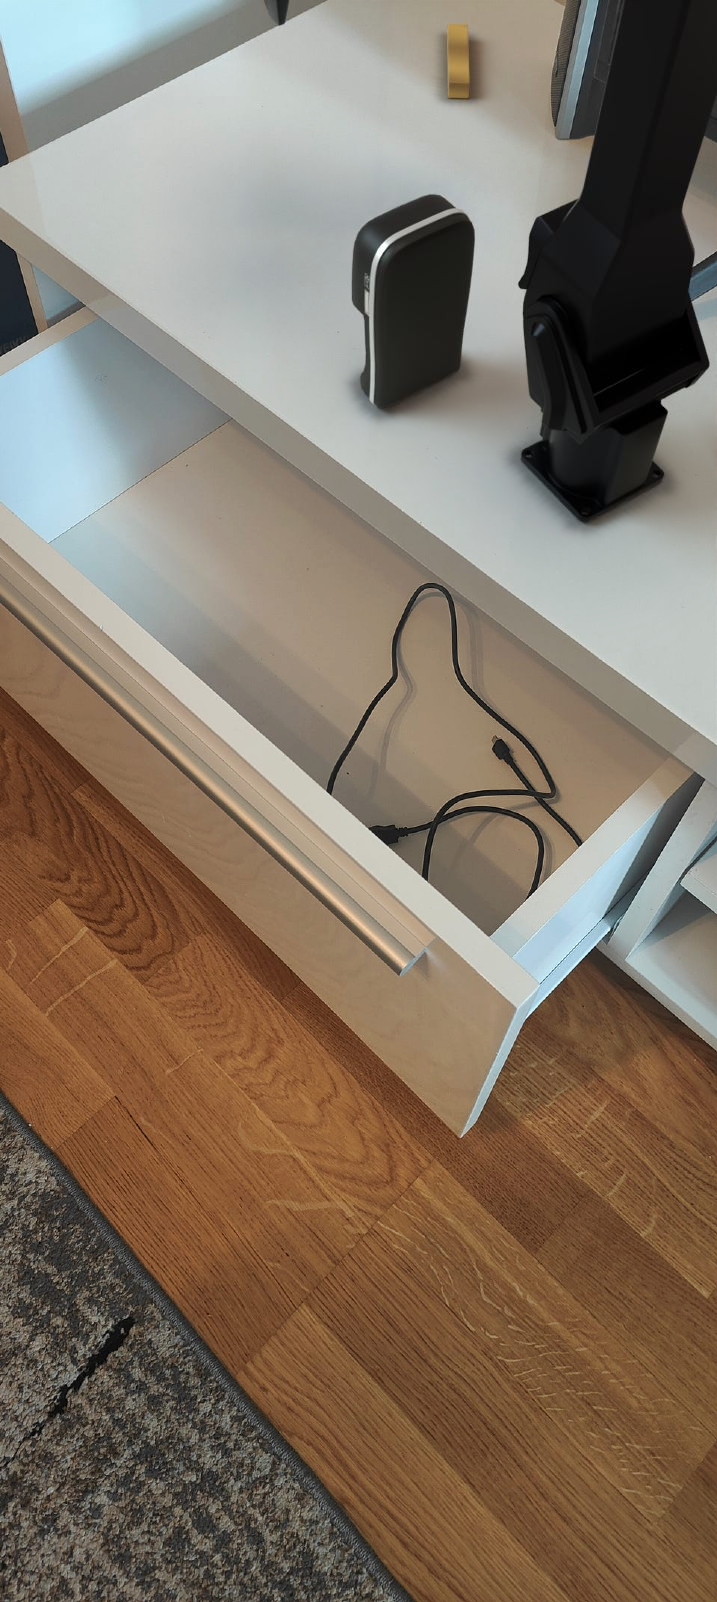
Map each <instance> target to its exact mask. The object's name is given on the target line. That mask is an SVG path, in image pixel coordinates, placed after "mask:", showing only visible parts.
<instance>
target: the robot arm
mask: <svg viewBox="0 0 717 1602" xmlns="http://www.w3.org/2000/svg"><path fill="white" fill-rule="evenodd" d="M263 3H264V5H265V8H266V10H267V13H268V16H269V18H270V19H271V21H272V22H274V23H275V24H276V25H277V26H279V27H281V26H284V25H285V24H286V21H287V15H288V10H289V4H290V0H263ZM612 49H613V51H612V53H611V57H610V58H611V59H610V64H609V67H608V73H607V77H606V81H605V86H604V91H603V95H602V99H601V104H600V109H599V112H598V118H597V122H596V126H595V132H594V135H593V140H592V145H591V149H590V154H589V159H588V163H587V168H586V172H585V176H584V181H583V186H582V189H581V192H580V194H579V196H578V198H576V199H573V200H571V201H569V202H567V203H565V204H562V205H561V206H558V207H556V208H554V209H551V210H550V211H549V210H548V211H547V212H545V213H543V214H540V215H539V216H537V217H536V218H535V219H534V221H533V224H532V226H531V229H530V232H529V235H528V245H527V246H528V248H527V259H526V265H525V267H524V268H525V269H524V271H523V274H522V276H521V277H520V279H519V281H518V282H517V286H518V288H519V289H520V290H525V292H524V296H523V302H522V330H523V331H522V332H523V341H524V342H523V343H524V351H525V352H524V353H525V364H526V375H527V376H526V377H527V386H528V395H529V398H530V399H531V400H532V401H533V402H534V403H535V404H536V405H538V407H539V408H540V412H541V414H542V416H541V421H540V423H541V424H540V425H541V426H540V429H539V436H540V437H541V439H540V440H539V441H537V442H535V443H532V444H531V445H529V446H527V447H525V448H523V449H522V451H521V452H520V457H519V458H520V462H521V463H523V465H524V466H525V467H526V468H527V469H528V470H529V471H530V472H531V474H533V475H534V476H535V478H536V479H538V480H539V481H540V483H542V484H543V485H544V486H545V487H546V488H547V490H548V491H550V493H551V494H553V496H554V497H555V498H556V499H557V500H559V502H560V503H561V504H562V505H564V507H565V508H566V509H567V510H568V511H569V512H570V513H571V514H572V515H573V516H574V517H575V518H576V519H577V520H578V521H579V522H581V523H589V522H591V521H593V520H595V519H597V518H598V517H600V516H602V515H604V514H605V513H607V512H609V511H612V510H613V509H616V508H617V507H619V506H621V505H623V504H625V503H626V502H628V501H630V500H631V499H633V498H636V497H637V496H640V495H641V494H643V493H645V492H646V491H649V490H650V489H652V488H654V487H656V486H657V485H659V484H661V483H662V482H663V480H664V478H665V471H664V470H663V469H662V468H661V466H659V465H658V464H657V463H656V462H655V461H654V458H655V456H656V455H655V454H656V452H657V448H658V445H659V442H660V439H661V436H662V432H663V430H664V426H665V423H666V421H667V417H668V414H669V411H668V409H667V408H666V407H665V406H664V405H663V404H662V400H664V399H667V398H668V397H670V396H672V395H674V394H675V393H678V392H679V391H681V390H684V389H688V388H690V387H691V386H694V385H695V384H696V383H697V382H698V381H699V379H700V378H701V377H703V375H704V374H705V373H706V372H707V371H708V370H709V368H710V366H711V365H710V364H711V362H710V359H709V355H708V352H707V348H706V346H705V345H706V344H705V341H704V338H703V335H702V332H701V328H700V325H699V321H698V318H697V315H696V312H695V308H694V304H693V301H692V298H691V294H690V285H691V279H692V274H693V268H694V263H695V257H696V249H695V246H694V243H693V240H692V237H691V234H690V232H689V228H688V225H687V222H686V219H685V216H684V213H683V209H684V202H685V199H686V196H687V193H688V189H689V187H690V183H691V180H692V177H693V174H694V170H695V168H696V164H697V160H698V158H699V154H700V152H701V148H702V145H703V142H704V137H705V135H706V131H707V129H708V125H709V122H710V119H711V115H712V114H713V113H712V112H713V109H714V106H715V103H716V99H717V0H623V5H622V9H621V14H620V17H619V23H618V26H617V32H616V35H615V41H614V45H613V48H612Z"/></svg>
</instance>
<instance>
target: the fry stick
mask: <svg viewBox="0 0 717 1602" xmlns="http://www.w3.org/2000/svg"><path fill="white" fill-rule="evenodd" d="M469 48H470V47H469V25H468V24H467V23H464V24H462V23H461V24H460V23H448V24H447V32H446V70H447V71H446V73H447V75H446V76H447V98H448V99H469V96H470V85H471V83H470V82H471V79H470V49H469Z"/></svg>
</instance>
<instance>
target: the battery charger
mask: <svg viewBox="0 0 717 1602" xmlns="http://www.w3.org/2000/svg"><path fill="white" fill-rule="evenodd" d="M475 243H476V231H475V227H474V225H473V222H472V221H471V219H470V217H469V215H468V213H466V212H465V211H463V210H462V209H460V208H458V207H455V206H454V205H453V204H452V203H451V202H450V201H449V200H447V199H446V197H444V196H442V195H441V194H434V193H430V194H426V195H422V196H420V197H418V198H415V199H413V200H410V201H408V202H406V203H403V204H401V205H398V206H396V207H394V208H392V209H390V210H388V211H386V212H383V213H382V214H380V215H377V216H375V217H373V218H372V219H370V220H369V221H367V222H366V223H365V224H364V225H363V226H362V227H361V228H359V231H358V232H357V234H356V237H355V240H354V241H353V248H352V261H351V262H352V263H351V302H352V305H353V306H354V307H355V309H356V310H357V311H358V312H359V313H360V314H361V315H362V317H363V322H364V323H363V324H364V325H363V327H364V349H365V363H364V368H363V371H362V372H361V374H360V377H359V384H360V387H361V390H362V391H363V393H364V395H365V396H366V397H367V398H368V399H369V402H370V403H371V404H372V405H373V406H376V407H377V408H378V409H382V410H383V409H385V408H387V407H389V406H391V405H394V404H397V403H398V402H400V401H403V400H404V399H407V398H409V397H411V396H413V395H415V394H418V393H419V392H422V391H424V390H425V389H427V388H429V387H431V386H433V385H435V384H436V383H438V382H441V381H442V380H444V379H446V378H448V377H449V376H451V375H453V374H455V373H456V372H458V371H460V369H461V366H462V353H463V342H464V333H465V326H466V320H467V315H468V307H469V299H470V293H471V285H472V277H473V269H474V258H475Z"/></svg>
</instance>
